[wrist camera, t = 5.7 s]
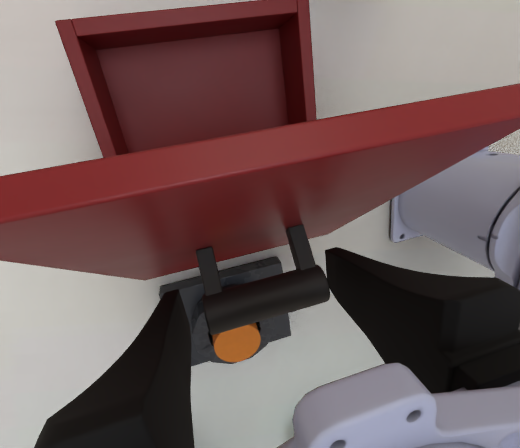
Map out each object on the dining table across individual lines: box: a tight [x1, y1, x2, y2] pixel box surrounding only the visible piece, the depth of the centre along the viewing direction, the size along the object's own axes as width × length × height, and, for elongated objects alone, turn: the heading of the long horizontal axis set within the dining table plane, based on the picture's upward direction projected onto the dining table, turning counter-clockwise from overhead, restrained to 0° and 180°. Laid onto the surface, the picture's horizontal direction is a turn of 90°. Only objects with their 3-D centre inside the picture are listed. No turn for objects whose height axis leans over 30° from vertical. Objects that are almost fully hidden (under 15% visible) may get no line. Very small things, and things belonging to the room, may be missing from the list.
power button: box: [212, 323, 261, 362], centre depth 23 cm, size 4×4×2 cm
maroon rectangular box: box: [55, 0, 317, 158], centre depth 19 cm, size 13×12×4 cm
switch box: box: [159, 257, 291, 366], centre depth 25 cm, size 10×8×3 cm
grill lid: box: [0, 84, 520, 335], centre depth 12 cm, size 14×12×4 cm
